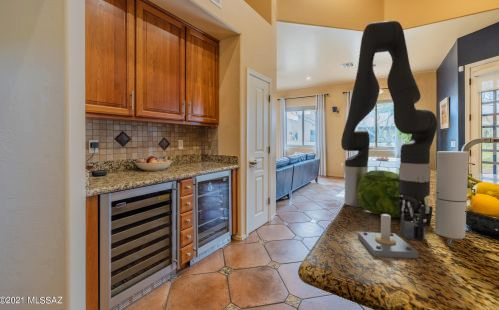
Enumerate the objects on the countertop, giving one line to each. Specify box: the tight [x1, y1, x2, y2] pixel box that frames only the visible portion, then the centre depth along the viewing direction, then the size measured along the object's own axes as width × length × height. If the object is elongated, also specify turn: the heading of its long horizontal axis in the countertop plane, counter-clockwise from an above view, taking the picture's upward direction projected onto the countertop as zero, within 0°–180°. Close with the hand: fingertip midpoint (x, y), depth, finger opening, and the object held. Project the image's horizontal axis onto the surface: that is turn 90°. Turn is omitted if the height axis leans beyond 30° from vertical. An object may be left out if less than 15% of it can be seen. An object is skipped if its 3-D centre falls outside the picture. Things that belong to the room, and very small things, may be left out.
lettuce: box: [357, 169, 430, 219], centre depth 90 cm, size 17×23×17 cm
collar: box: [399, 217, 426, 241], centre depth 71 cm, size 6×6×5 cm
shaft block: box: [357, 214, 419, 259], centre depth 64 cm, size 12×10×8 cm
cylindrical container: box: [434, 150, 469, 240], centre depth 72 cm, size 7×7×25 cm
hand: (412, 234), depth 71 cm, fingers closed on collar, 5 cm apart
